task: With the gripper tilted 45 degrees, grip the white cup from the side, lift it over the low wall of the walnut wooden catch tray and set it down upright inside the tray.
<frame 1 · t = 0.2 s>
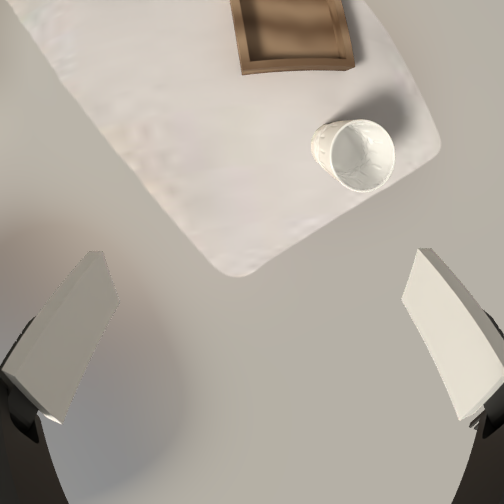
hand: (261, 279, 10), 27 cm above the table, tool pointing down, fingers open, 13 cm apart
white cup: (333, 146, 34), on the table
catch tray: (287, 26, 26), on the table
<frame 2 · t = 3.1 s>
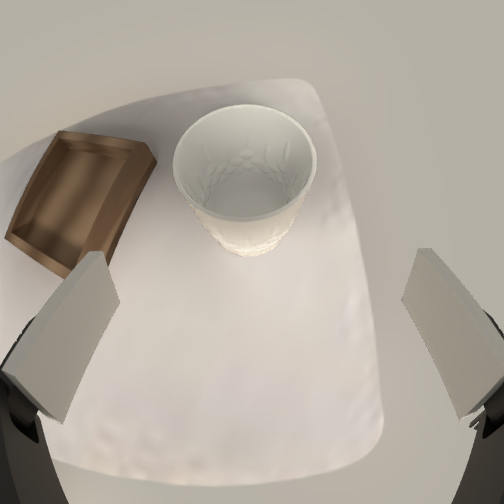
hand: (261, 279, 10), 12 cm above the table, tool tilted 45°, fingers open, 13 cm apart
white cup: (249, 220, 24), on the table
catch tray: (79, 206, 25), on the table
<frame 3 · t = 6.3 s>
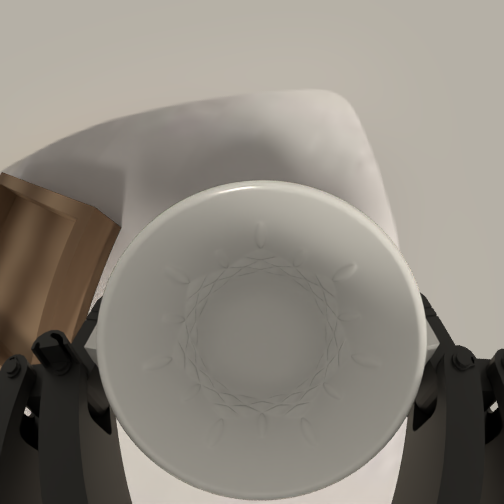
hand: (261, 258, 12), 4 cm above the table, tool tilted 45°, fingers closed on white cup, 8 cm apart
white cup: (261, 333, 15), on the table, touching gripper
catch tray: (29, 283, 16), on the table
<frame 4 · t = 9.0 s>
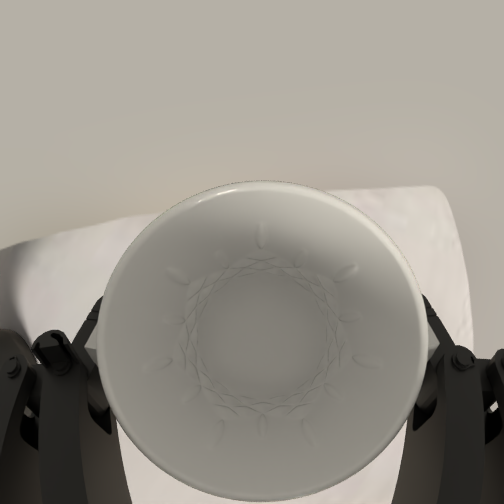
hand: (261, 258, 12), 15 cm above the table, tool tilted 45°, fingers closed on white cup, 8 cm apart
white cup: (261, 334, 15), point 11 cm above the table, touching gripper
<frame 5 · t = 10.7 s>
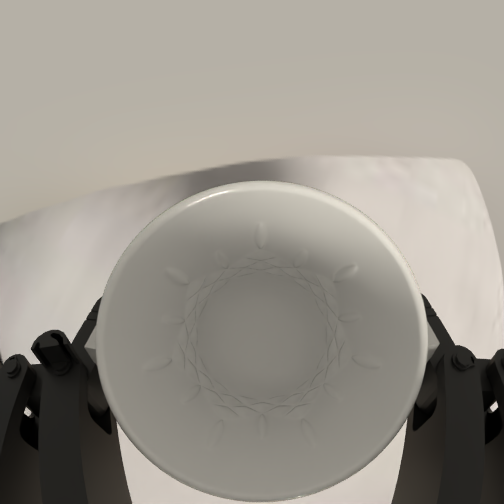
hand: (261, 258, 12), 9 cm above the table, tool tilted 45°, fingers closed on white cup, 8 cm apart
white cup: (261, 334, 15), point 5 cm above the table, touching gripper
when the fingers open (7 cm above the table, at t = 12.1 s): white cup drops 1 cm, resting on catch tray.
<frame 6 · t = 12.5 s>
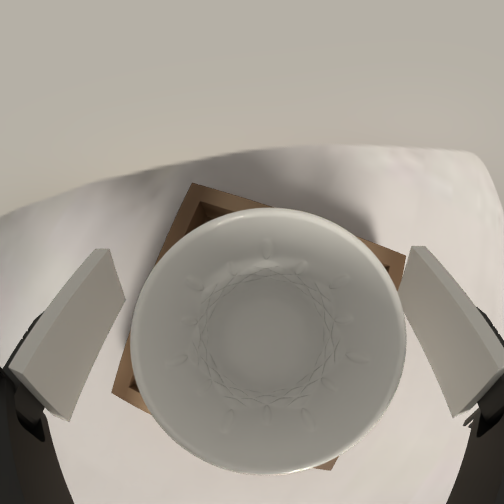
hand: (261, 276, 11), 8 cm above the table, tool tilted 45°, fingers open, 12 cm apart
white cup: (264, 334, 17), point 1 cm above the table, touching catch tray
catch tray: (260, 332, 17), on the table
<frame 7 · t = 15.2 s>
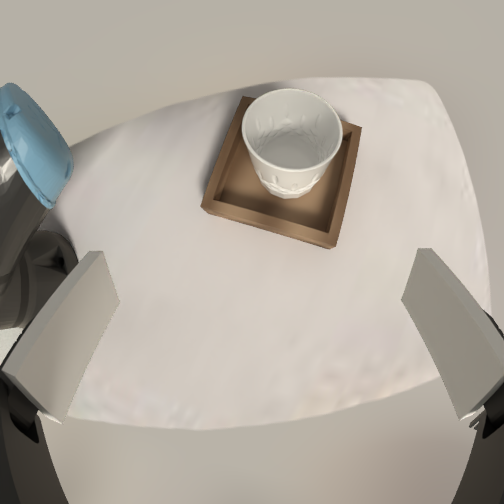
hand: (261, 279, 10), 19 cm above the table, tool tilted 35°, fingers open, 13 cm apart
white cup: (287, 171, 29), point 1 cm above the table, touching catch tray
catch tray: (285, 173, 30), on the table
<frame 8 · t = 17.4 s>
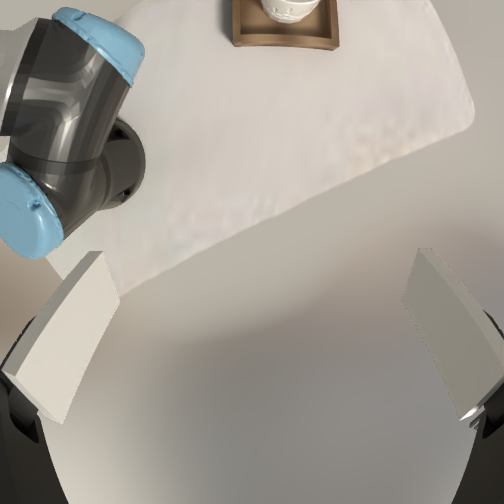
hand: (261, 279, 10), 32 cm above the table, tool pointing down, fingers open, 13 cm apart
white cup: (285, 5, 25), point 1 cm above the table, touching catch tray
catch tray: (283, 7, 26), on the table
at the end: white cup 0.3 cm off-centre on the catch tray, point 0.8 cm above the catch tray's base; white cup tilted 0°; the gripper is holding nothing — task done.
